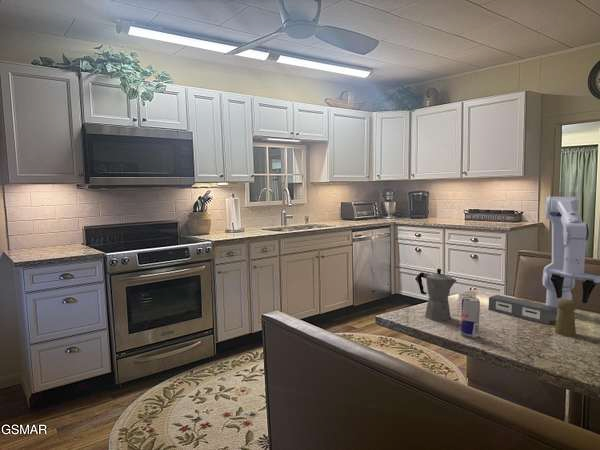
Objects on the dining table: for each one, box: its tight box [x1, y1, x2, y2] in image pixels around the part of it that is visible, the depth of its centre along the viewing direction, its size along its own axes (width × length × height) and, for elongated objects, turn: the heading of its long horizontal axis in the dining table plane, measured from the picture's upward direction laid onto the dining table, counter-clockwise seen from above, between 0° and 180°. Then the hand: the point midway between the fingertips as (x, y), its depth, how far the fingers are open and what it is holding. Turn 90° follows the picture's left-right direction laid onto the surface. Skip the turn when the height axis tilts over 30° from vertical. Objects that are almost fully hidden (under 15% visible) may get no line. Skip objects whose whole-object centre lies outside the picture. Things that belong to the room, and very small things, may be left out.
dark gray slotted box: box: [488, 294, 558, 325], centre depth 155 cm, size 6×22×5 cm, turn 36°
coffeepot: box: [416, 268, 457, 322], centre depth 153 cm, size 15×9×18 cm, turn 44°
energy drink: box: [460, 296, 481, 339], centre depth 133 cm, size 5×5×12 cm
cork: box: [553, 299, 577, 337], centre depth 136 cm, size 6×6×11 cm
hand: (571, 300), depth 138 cm, fingers open, 7 cm apart
